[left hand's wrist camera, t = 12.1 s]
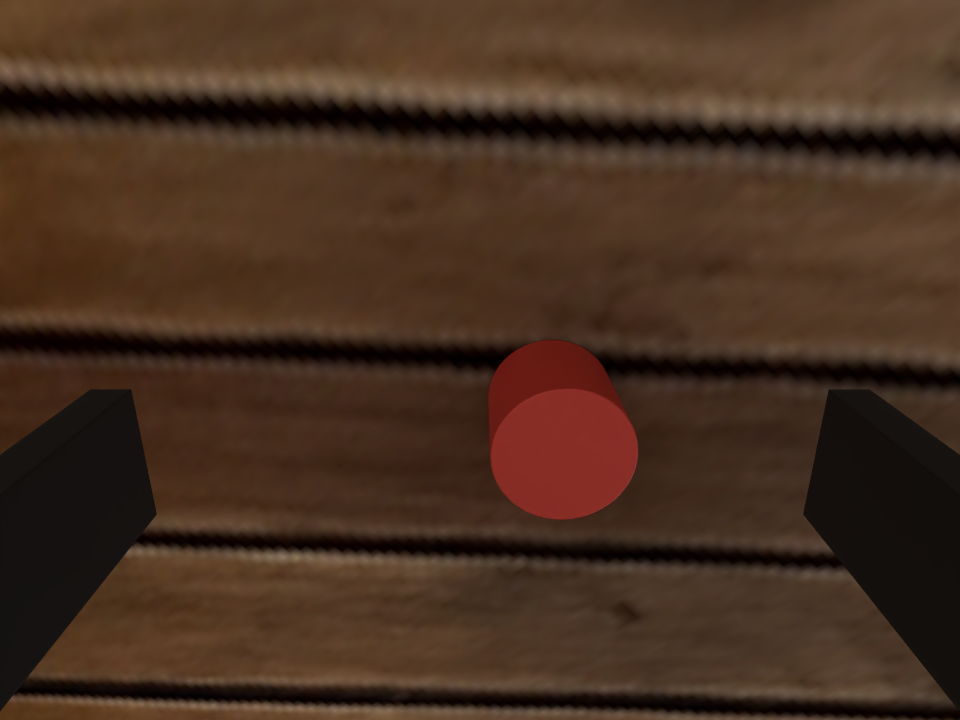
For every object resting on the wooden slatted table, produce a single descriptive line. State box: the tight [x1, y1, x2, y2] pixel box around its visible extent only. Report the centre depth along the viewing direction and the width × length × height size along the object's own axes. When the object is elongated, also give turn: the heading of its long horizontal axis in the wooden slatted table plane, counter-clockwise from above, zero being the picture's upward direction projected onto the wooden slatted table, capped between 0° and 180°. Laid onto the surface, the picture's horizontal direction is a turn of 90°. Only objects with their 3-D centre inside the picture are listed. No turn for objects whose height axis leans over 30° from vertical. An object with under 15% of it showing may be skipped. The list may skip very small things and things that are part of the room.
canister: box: [488, 340, 638, 519], centre depth 23 cm, size 5×5×5 cm
